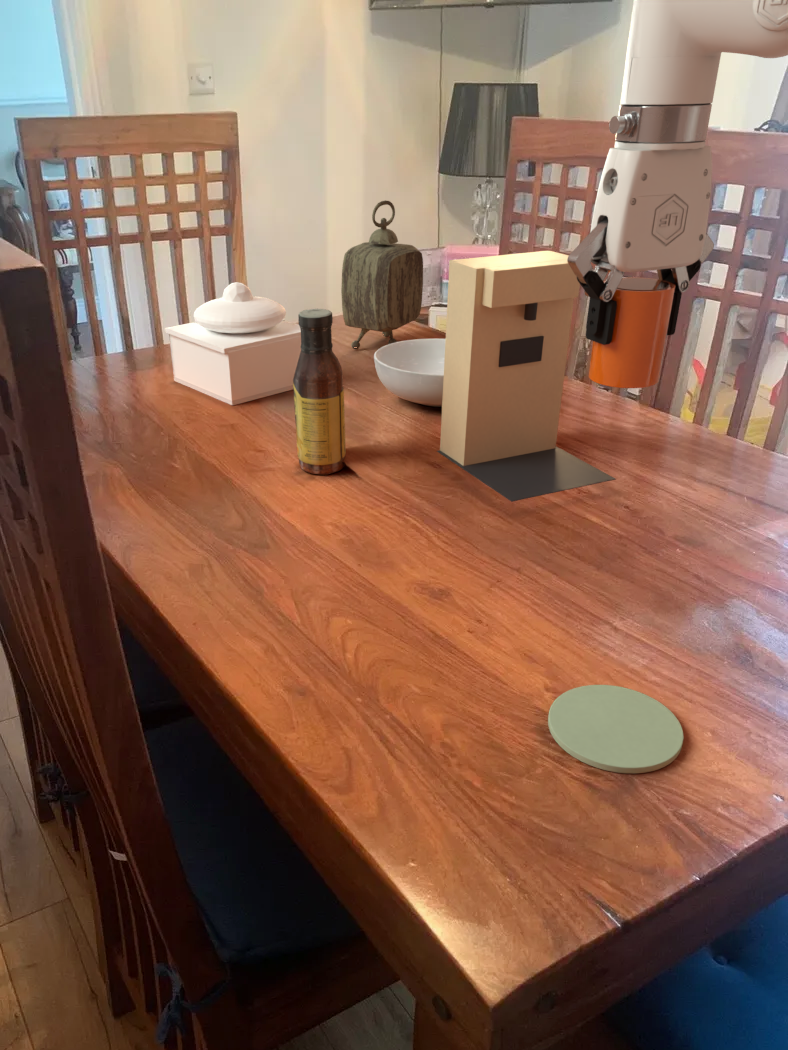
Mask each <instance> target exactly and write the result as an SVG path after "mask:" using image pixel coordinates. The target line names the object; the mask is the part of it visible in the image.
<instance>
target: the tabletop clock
mask: <svg viewBox="0 0 788 1050" xmlns="http://www.w3.org/2000/svg"><path fill="white" fill-rule="evenodd" d="M386 205H387V206H389V207H390V208H391V212H392V213H391V217H390V219H388V220H387V218H386V217H382V218H380V222H377V221H376V213H377V211H378V210H379V208H380V207H382V206H386ZM395 215H396V209H395V205H394V203H392V202H391V200H381V201H379V202H377V204H376V205H375V206H374V208H373V210H372V214H371V218H372V223H373V224H374V226H375V227H377V228H378V229H376V230H374V231H373V232H372V233H371V234H370V237H369V239H368V241H367V242H362V243H360V244H357V245H354V246H351V247H350V248H349V249H348V250H347V251H346V252H345V253H344V256H343V260H342V267H341V288H340V289H341V308H342V317H343V321H344V325H345V326H347V327H350V328H354V329H361V330H360V333H359V335H358V337H357V339H356V340H353V341H352V342H351V344H350V345H351V348H352V349H353V350H359V348H360V347H361V344H360V342H361V341H362V339H363V338H364V337H365V335H366V334H367V333H368V332H369V331H374V332H379V333H382V335H383V334H384V335H383V337H385V338H388V337H389V340H388V342H387V345H389V344H392V343H395V342H398V341H397V339H395V338H394V334H393V331H395V330H398V329H399V328H401V327H403V326H406V325H407V324H409V323H411V322H414V321H416V320H417V319H418V318H419V316H420V315H421V311H422V305H423V304H422V303H423V291H424V257H423V253H422V252H421V251H420V250H419V249H418V248H417V247H415V246H414V245H412V244H405V243H398V242H399V240H398V236H397V234H396V233H395V231H393V230H392V229H391V228H387V227H388V226H390V225H391V224H392V223H393V221H394V219H395ZM354 347H357V348H354Z"/></svg>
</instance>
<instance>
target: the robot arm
mask: <svg viewBox="0 0 788 1050" xmlns="http://www.w3.org/2000/svg"><path fill="white" fill-rule="evenodd" d="M632 2H633V3H632V10H631V18H630V25H629V34H628V40H627V48H626V55H625V64H624V72H623V79H622V88H621V95H620V103H619V109H618V115H613V116H612V117H611V119H610V120H609V124H608V129H609V132H610V133H611V134H613V135H614V134H615V141H614V147H609V150H608V153H607V155H606V159H605V162H604V165H603V169H602V173H601V176H600V180H599V184H598V189H597V193H596V198H595V202H594V208H593V213H592V218H591V225H590V230H589V231H590V232H589V234H587V235H586V237H585V238H583V240H581V242H580V243H579V244H578V245H577V246H576V247H575V249H574V250H572V251H571V252H570V253H569V254H568V259H567V261H568V264H569V265H570V267H571V269H572V270H573V272H574V274H575V275H576V276H577V280H578V282H579V283H580V286H581V287H582V289H583V291H584V295H585V297H587V298H588V297H589V301H588V309H587V317H586V324H585V338H586V339H587V340H589V341H592V342H593V341H595V342H597V343H600V344H603V345H607V344H610V343H611V341H612V336H613V329H614V322H615V315H616V308H617V301H613V300H611V299H612V297H613V295H614V293H615V291H616V289H617V287H618V285H619V283H620V282H621V280H622V278H624V276H625V274H626V273H641V272H650V271H656V272H657V277H658V279H659V280H664V281H668V282H671V283H673V284H674V285H675V292H674V298H673V304H672V310H671V315H670V321H669V327H668V333H667V336H673V335H674V334H675V333H676V329H677V324H678V323H677V322H678V317H679V312H680V308H681V307H680V305H681V299H682V295H683V293H685V292H687V291H688V290H689V288H690V286H691V285H690V283H691V280H692V279H693V278H694V277H695V276H696V275H697V273H699V271H700V269H701V268H702V267H701V266H702V264H704V262H705V261H706V260H707V258H708V257H709V255H710V254H711V253H712V252H713V250H714V247H715V243H714V241H713V239H712V238H711V237H710V236H709V234H708V233H707V228H708V223H709V222H708V221H709V214H710V207H711V195H712V181H713V153H712V146H711V145H706V141H707V136H708V129H709V123H710V118H711V114H712V113H711V112H712V107H713V102H714V96H715V91H716V86H717V79H718V75H719V74H718V73H719V67H720V62H721V56H722V53H729V54H739V55H747V56H753V57H758V58H763V59H777V58H785V57H786V56H788V0H633V1H632ZM592 264H593V265H595V267H594V268H593V265H592ZM608 273H609V274H608ZM605 280H606V281H605ZM603 281H605V283H604V282H603Z"/></svg>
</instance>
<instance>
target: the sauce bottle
mask: <svg viewBox="0 0 788 1050" xmlns="http://www.w3.org/2000/svg"><path fill="white" fill-rule="evenodd" d="M333 319H334V318H333V312H332V311H331V310H330V309H327V308H309V309H304V310H301V311H299V312H298V321H297V322H298V324H299V326H300V329H301V352H300V356H299V359H298V363H297V367H296V370H295V374H294V378H293V401H294V403H293V405H294V406H293V407H294V420H295V431H296V432H295V435H296V450H297V451H296V452H297V458H298V465H299V467H300V469H301V470H302V471H304V472H306V473H309V474H313V475H320V476H321V475H322V476H325V475H330V474H333V473H338V472H339V471H341V470H343V468H344V467H345V462H344V459H345V456H346V453H347V449H346V419H345V388H344V384H343V383H344V379H343V368H342V364H341V363H340V361H339V358H338V356H337V355H336V354H335V353H334V351H333V346H334V345H333V338H332V337H333V336H332V326H333V323H334V322H333V321H334V320H333Z"/></svg>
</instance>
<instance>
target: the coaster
mask: <svg viewBox="0 0 788 1050" xmlns="http://www.w3.org/2000/svg"><path fill="white" fill-rule="evenodd" d="M548 711H549V712H548V715H547V725H548V726H547V727H548V730H549V732H550V735H551V737H552V738H553V739H554V741H555V743H556V744H557V745H558V746H559V747H560V748H561V749H562V750H563V751H565V752H566V754H568V755H570V756H571V757H572V758H574V759H576V760H577V761H579V762H582V763H584V764H586V765H588V766H590V767H593V768H597V769H600V770H603V771H606V772H612V773H617V774H618V773H619V774H633V775H634V774H644V773H650V772H654V771H657V770H658V771H659V770H661V769H662V768H665V767H668V766H669V765H670V764H672V762H674V761H675V760H676V759H677V757H678V756H679V755H680V753H681V751H682V748H683V745H684V739H685V737H684V730H683V726H682V725H681V722H680V720H679V719H678V718H677V716H676V715H675V714H674V713H673V712H672V711H671V710H670V708H668V707H667V706H665V705H664V704H663V703H662V702H661V701H659V700H657V699H655V698H653V697H651V696H650V695H648V694H646V693H643V692H641V691H638V690H635V689H632V688H629V687H623V686H618V685H613V684H612V685H611V684H588V685H582V686H581V685H580V686H578V687H573V688H571V689H569V690H566V691H565V692H563V693H561V694H560V695H559V696H557V697H556V698H555V700H554V701H553V702H552V703H551V705H550V708H549V710H548Z"/></svg>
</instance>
